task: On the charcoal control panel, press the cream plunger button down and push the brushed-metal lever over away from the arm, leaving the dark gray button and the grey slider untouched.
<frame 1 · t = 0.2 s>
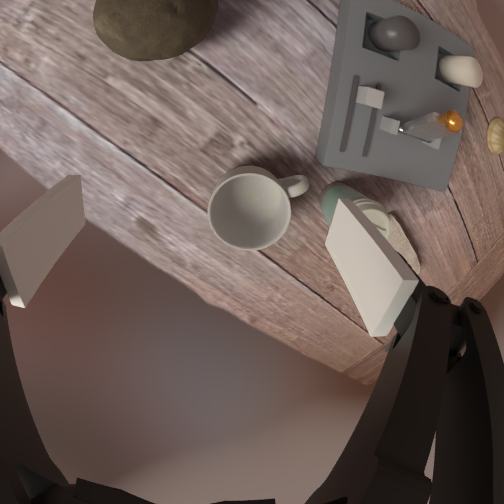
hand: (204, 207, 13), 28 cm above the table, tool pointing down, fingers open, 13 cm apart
hand bell: (496, 135, 37), on the table
cream button: (461, 70, 26), point 7 cm above the table, slide at 0.0 cm
lever: (433, 127, 28), point 10 cm above the table, hinge at -25.0°
coffee cup: (335, 197, 44), on the table
teacup: (256, 188, 42), on the table
slider knob: (369, 97, 30), point 6 cm above the table, slide at -3.0 cm
dark gray button: (393, 34, 24), point 7 cm above the table, slide at 0.0 cm
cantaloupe: (169, 20, 27), on the table
panel: (399, 91, 34), on the table
washcloth: (383, 257, 52), on the table
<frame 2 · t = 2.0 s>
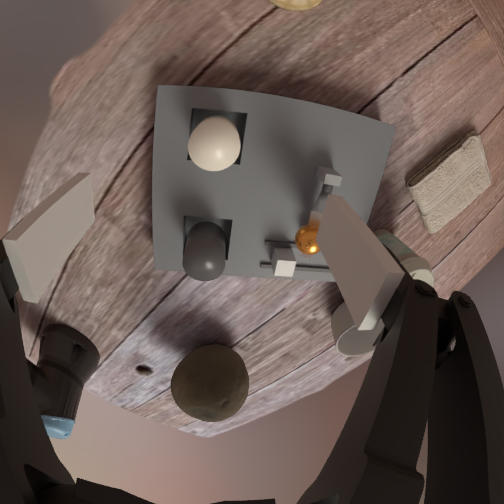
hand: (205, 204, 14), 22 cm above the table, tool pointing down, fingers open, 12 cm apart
cream button: (215, 140, 27), point 7 cm above the table, slide at 0.0 cm
lever: (316, 224, 29), point 10 cm above the table, hinge at -25.0°
coffee cup: (376, 243, 44), on the table
teacup: (351, 302, 50), on the table
slider knob: (283, 261, 37), point 6 cm above the table, slide at -3.0 cm
dark gray button: (205, 250, 34), point 7 cm above the table, slide at 0.0 cm
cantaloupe: (211, 350, 55), on the table
panel: (265, 185, 37), on the table
washcloth: (449, 178, 38), on the table
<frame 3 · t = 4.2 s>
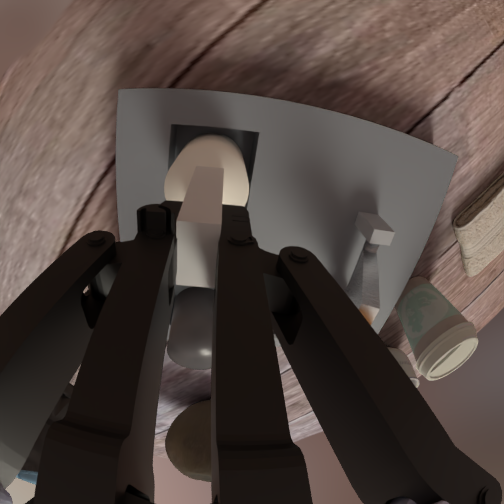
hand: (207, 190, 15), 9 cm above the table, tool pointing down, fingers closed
cream button: (208, 175, 18), point 5 cm above the table, slide at 1.2 cm, touching gripper
lever: (357, 306, 19), point 10 cm above the table, hinge at -25.0°
coffee cup: (410, 292, 34), on the table
teacup: (372, 353, 41), on the table
dark gray button: (198, 328, 24), point 7 cm above the table, slide at 0.0 cm
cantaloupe: (209, 403, 45), on the table
panel: (280, 231, 27), on the table
washcloth: (494, 212, 28), on the table
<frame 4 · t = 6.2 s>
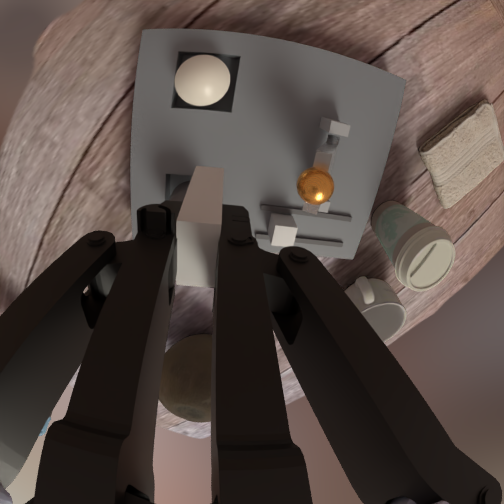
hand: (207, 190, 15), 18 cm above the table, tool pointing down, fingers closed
cream button: (204, 80, 23), point 4 cm above the table, slide at 2.5 cm
lever: (321, 175, 23), point 10 cm above the table, hinge at -25.0°
coffee cup: (387, 217, 38), on the table
teacup: (358, 287, 45), on the table
slider knob: (281, 229, 31), point 6 cm above the table, slide at -3.0 cm
dark gray button: (189, 212, 28), point 7 cm above the table, slide at 0.0 cm
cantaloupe: (200, 342, 49), on the table
panel: (261, 143, 31), on the table
washcloth: (462, 149, 33), on the table
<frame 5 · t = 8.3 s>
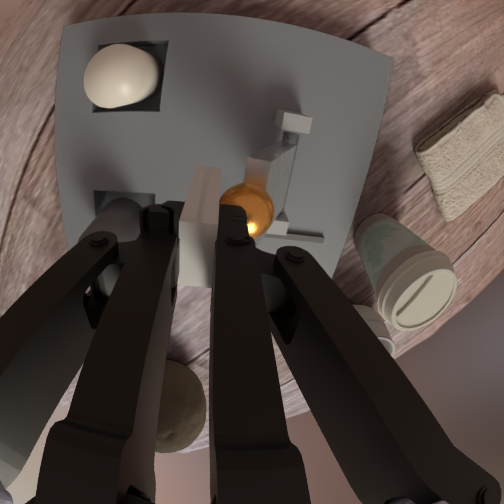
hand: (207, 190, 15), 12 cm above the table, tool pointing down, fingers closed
cream button: (126, 76, 17), point 4 cm above the table, slide at 2.5 cm
lever: (266, 190, 17), point 10 cm above the table, hinge at -23.0°, touching gripper
coffee cup: (374, 233, 32), on the table
teacup: (340, 312, 39), on the table
dark gray button: (114, 237, 22), point 7 cm above the table, slide at 0.0 cm
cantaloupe: (165, 366, 43), on the table
panel: (208, 147, 25), on the table
washcloth: (468, 149, 26), on the table
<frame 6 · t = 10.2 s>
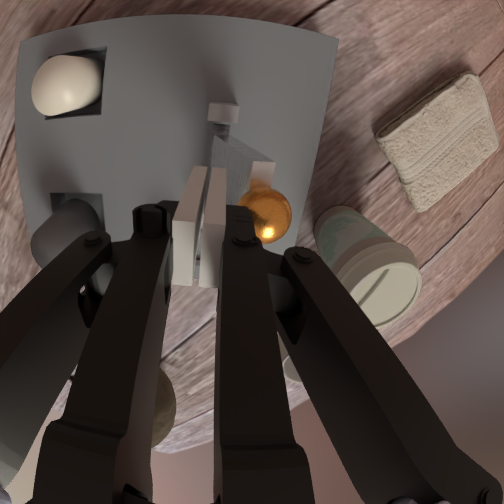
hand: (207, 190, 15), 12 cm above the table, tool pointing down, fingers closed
cream button: (71, 83, 16), point 4 cm above the table, slide at 2.5 cm
lever: (237, 188, 17), point 10 cm above the table, hinge at 17.1°
coffee cup: (337, 227, 31), on the table
teacup: (308, 311, 38), on the table
dark gray button: (66, 236, 21), point 7 cm above the table, slide at 0.0 cm
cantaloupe: (137, 365, 42), on the table
panel: (155, 145, 24), on the table
washcloth: (441, 134, 26), on the table
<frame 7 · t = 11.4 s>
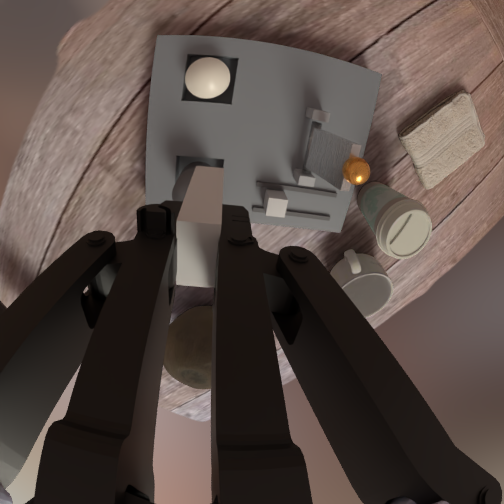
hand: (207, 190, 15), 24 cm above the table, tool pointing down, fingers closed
cream button: (209, 78, 28), point 4 cm above the table, slide at 2.5 cm
lever: (334, 158, 28), point 10 cm above the table, hinge at 16.9°
coffee cup: (372, 197, 43), on the table
teacup: (348, 263, 50), on the table
slider knob: (275, 203, 36), point 6 cm above the table, slide at -3.0 cm
dark gray button: (195, 186, 33), point 7 cm above the table, slide at 0.0 cm
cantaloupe: (203, 315, 54), on the table
panel: (257, 131, 36), on the table
washcloth: (442, 135, 37), on the table
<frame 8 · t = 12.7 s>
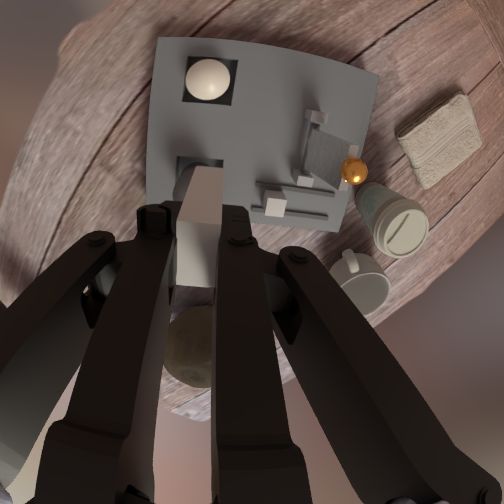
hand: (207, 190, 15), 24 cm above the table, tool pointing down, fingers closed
cream button: (209, 80, 28), point 4 cm above the table, slide at 2.5 cm
lever: (332, 159, 29), point 10 cm above the table, hinge at 16.9°
coffee cup: (370, 197, 43), on the table
teacup: (347, 262, 50), on the table
slider knob: (274, 203, 36), point 6 cm above the table, slide at -3.0 cm
dark gray button: (195, 187, 33), point 7 cm above the table, slide at 0.0 cm
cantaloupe: (203, 315, 54), on the table
panel: (256, 132, 36), on the table
washcloth: (439, 136, 38), on the table
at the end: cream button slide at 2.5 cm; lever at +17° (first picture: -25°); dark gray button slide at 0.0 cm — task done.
